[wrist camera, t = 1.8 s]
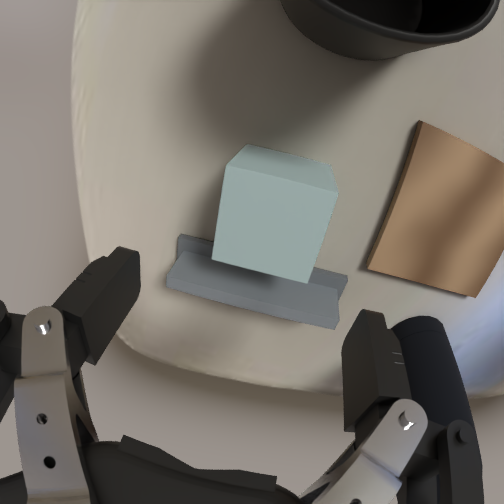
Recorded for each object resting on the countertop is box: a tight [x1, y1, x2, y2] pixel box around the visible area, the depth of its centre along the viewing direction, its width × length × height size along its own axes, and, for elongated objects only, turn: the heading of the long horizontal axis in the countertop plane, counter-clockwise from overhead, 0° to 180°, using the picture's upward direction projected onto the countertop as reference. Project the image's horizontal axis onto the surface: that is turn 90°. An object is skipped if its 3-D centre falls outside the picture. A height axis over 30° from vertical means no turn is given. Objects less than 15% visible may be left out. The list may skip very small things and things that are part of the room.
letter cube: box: [212, 144, 339, 283], centre depth 18 cm, size 6×6×6 cm
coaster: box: [366, 120, 504, 298], centre depth 18 cm, size 11×11×1 cm
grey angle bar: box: [166, 234, 348, 330], centre depth 22 cm, size 13×3×4 cm, turn 79°
